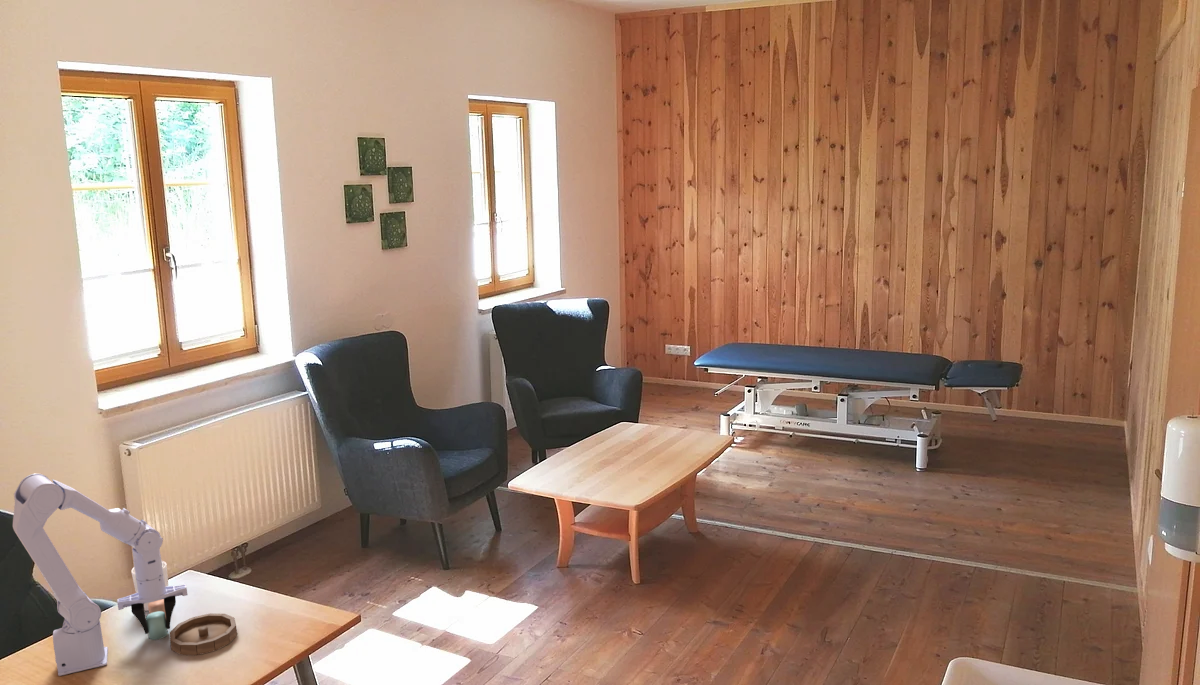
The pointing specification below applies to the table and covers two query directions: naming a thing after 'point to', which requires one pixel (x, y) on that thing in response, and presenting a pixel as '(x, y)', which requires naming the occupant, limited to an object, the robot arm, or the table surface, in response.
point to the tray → (203, 634)
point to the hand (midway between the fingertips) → (157, 629)
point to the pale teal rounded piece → (156, 625)
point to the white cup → (164, 580)
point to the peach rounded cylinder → (156, 606)
